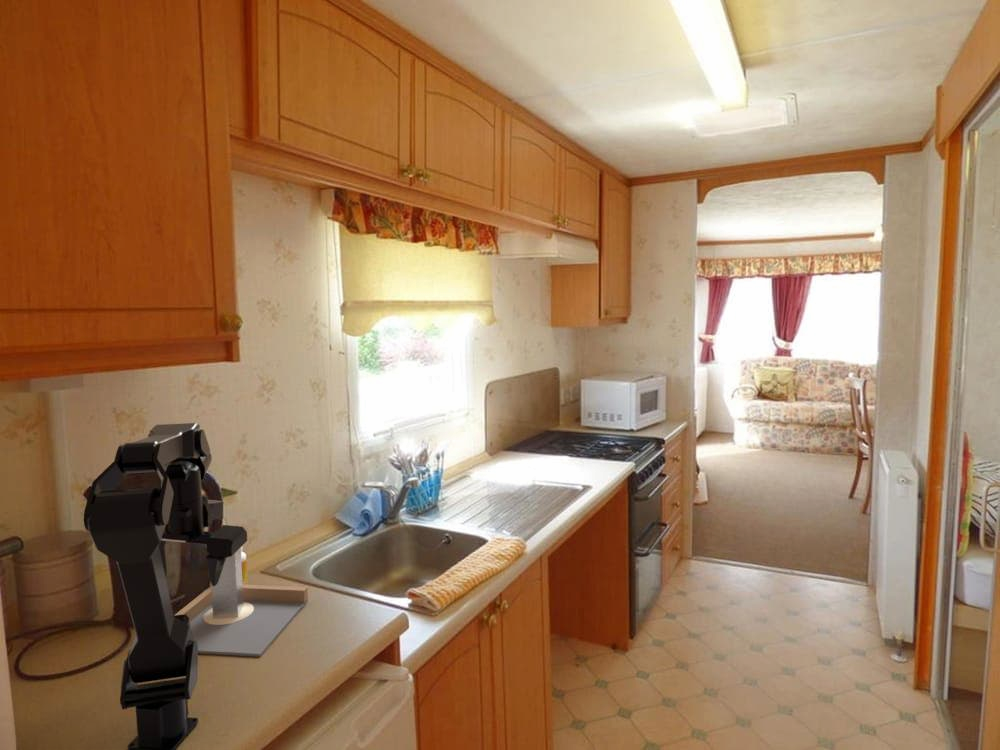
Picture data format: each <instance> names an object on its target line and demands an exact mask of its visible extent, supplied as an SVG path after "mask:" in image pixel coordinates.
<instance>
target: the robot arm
mask: <svg viewBox="0 0 1000 750" xmlns="http://www.w3.org/2000/svg"><path fill="white" fill-rule="evenodd" d="M212 457H213V456H212V453H211V448H210V445H209V442H208V439H207V436H206V433H205V430H204V429H200V424H199V423H197V422H189V423H188V422H185V423H166V424H156V425H155V426H154V427H152V429H150V430H149V433H148V436H147V437H145V438H141V439H139V440H137V441H134V442H126V443H124V444H119V445H118V447H117V449H116V453H115V457H114V461H112V463H111V464H110V465H108V466H107V468H105V469H104V470H103V471H102V472H101V473H100V474H99V475H98V476H97V477H96V478H95V479H94V480H93V482H92V484H91V487H90V491H89V494H88V496H87V500H86V504H85V508H84V513H83V525H84V528H85V530H86V531H87V532H89V535H90V538H91V540H92V542H93V544H94V547H95V548H96V550H97V551H99V552H100V553H102V554H104V555H105V556H107V557H108V558H110V559H112V560H114V561H115V562H116V565H117V568H118V569H117V570H118V571H119V572H118V573H119V574H120V580H121V584H122V587H123V591H124V595H125V598H126V602H127V605H128V606H127V607H128V610H129V614H130V617H131V621H132V624H133V628H134V632H135V635H134V637H133V641H132V643H131V644H132V645H131V647H130V649H129V650H128V653H127V657H126V659H124V663H123V667H122V674H121V675H122V677H121V685H120V697H119V701H120V705H121V710H128V709H130V708H135V717H136V718H135V720H136V733H137V734H136V735H137V736H135V737H134V738H133V739H132V740H131V741H130V743H128V744H127V750H175V749H177V747H179V745H181V743H182V742H183V741H184V739H186V737H187V736H188V735H189V734H190V732H191V731H192V730H193V729H194V728H195V727H196V726H197V724H198V723H199V718H198V717H189V703H188V701H189V700H191V699H192V697H193V693H194V691H195V689H196V685H197V682H198V671H199V670H198V669H199V668H198V663H199V660H198V659H199V657H198V656H199V653H198V643H197V640H193V635H192V630H191V627H190V621H189V617H188V616H187V615H186V614H183V615H175V614H174V610H173V606H172V600H171V596H170V592H169V588H168V587H169V586H168V584H167V570H168V569H167V559H166V549H165V547H166V544H167V543H166V542H175V543H191V544H202V545H203V544H204V545H206V546H205V547H206V552H207V553H208V555H207V556H205V561H206V566H207V570H208V571H207V572H208V575H209V581H210V584H212V586H216V585H217V584H218V581H219V578H220V575H221V572H222V569H223V566H224V563H225V561H226V558H227V557H230V556H232V555H233V554H234V553H235V552H236V551H237V550H238V549H239V548H240V547H241V546H242V547H243V545H245V544H246V542H247V541H248V531H247V530H246V528H245V527H243V526H239V525H229V524H223V525H221V526H220V527H219V528H218V529H217V530H216V531H215V532H213V531H207V530H206V531H205V528H210V526H211V525H213V521H214V520H218V521H219V520H222V515H223V509H224V508H223V506H224V500H218V499H217V500H216V499H208V498H207V496H203V494H202V493H203V492H202V480H203V479H204V478H205V475H206V473H207V472H208V470H209V467H210V466H211V463H212ZM156 472H157V474H158V476H159V479H160V485H161V487H160V488H157V487H147V488H146V487H145V488H132V489H131V488H130V489H120V490H119V489H117V488H118V486H120V485H121V483H123V481H124V480H125V479H126V478H127V476H128V475H127V474H139V473H140V474H141V473H156ZM116 489H117V490H116ZM174 678H175V679H174ZM154 681H155V682H154ZM146 682H148V683H146Z"/></svg>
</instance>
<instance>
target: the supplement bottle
mask: <svg viewBox="0 0 1000 750" xmlns="http://www.w3.org/2000/svg"><path fill="white" fill-rule="evenodd" d="M243 549H244V548H243V545H242V546H241V563H242V583H243V585H249V583H248V581H249V580H248V565H247V564H248V562H247V554H246V553H245V552H244V551H243Z"/></svg>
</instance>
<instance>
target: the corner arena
mask: <svg viewBox="0 0 1000 750" xmlns="http://www.w3.org/2000/svg"><path fill="white" fill-rule="evenodd" d="M308 593H309V591H308V587H307V586H284V585H282V586H281V585H264V584H263V585H261V584H248V585H243V602H244V606H243V608H242V610H241V612H240V614H239V616H238V617H235V618H223V619H213V608H212V590H211V585H210V586H209V587H208V588H207V589H205V590H204V591H202V593H200V594H199V595H198V596H196V597H195V598H194V599H193V600H191V601H190V602H189V603H188V604H187V605H186V606H184V607H183V608H182V609H180V610H179V611H178V612H177V613H175V614H174V615H183V614H186V615H187V616H188V617H189V621H190V627H191V630H192V635H193V640H197V643H198V654H203V655H204V654H205V655H221V656H222V655H223V656H239V657H240V656H241V657H260V658H261V657H262V656H263V655H264V654H265V653H266V651H267V650H268V649H269V648H270V647H271V645H272V644H273V643H274V642H275V641H276V639H277V638H278V637H279V636H280V635H281V633H282V632H283V631H284V630H285V629H286V628H287V627H288V625H289V624H290V623H291V622H292V621H293V620H294V618H295V617H296V616H297V614H299V613H300V612H301V610H302V609H303V608H304V607H303V606H306V605H307V603H308V602H307V601H309V596H308V595H309V594H308ZM306 602H307V603H306ZM302 607H303V608H302ZM301 608H302V609H301Z"/></svg>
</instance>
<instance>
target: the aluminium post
mask: <svg viewBox="0 0 1000 750" xmlns="http://www.w3.org/2000/svg"><path fill="white" fill-rule="evenodd" d="M241 552H242V551H241V547H240V548H239V549H238V550H237V551H236V552H235V553H234V554H233V555H232V556H230V557H227V558H226V561H225V563H224V566H223V569H222V572H221V575H220V578H219V581H218V584H217V585H216V586H212V584H211V583H210V584H211V585H210V586H211V590H212V608H213V619H223V618H235V617H238V616H239V614H240V612H241V610H242V608H243V606H244V602H243V583H242V563H241Z"/></svg>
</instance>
